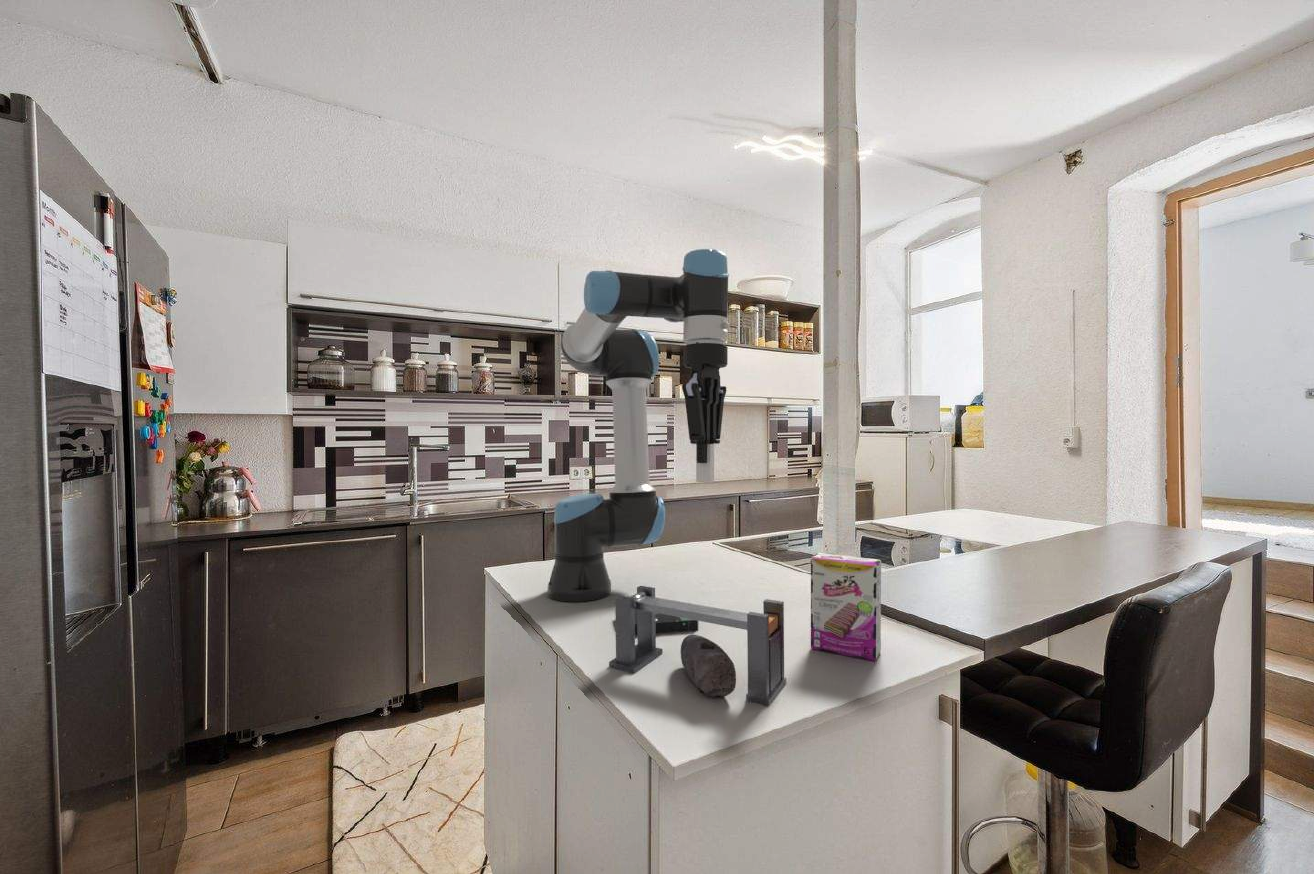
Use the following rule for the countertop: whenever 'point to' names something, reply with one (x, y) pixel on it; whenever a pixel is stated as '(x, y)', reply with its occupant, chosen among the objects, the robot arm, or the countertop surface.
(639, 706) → the countertop surface
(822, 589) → the candy bar box
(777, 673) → the catch block
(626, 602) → the bracket
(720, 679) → the perforated stone tool
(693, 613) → the grey long bar
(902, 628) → the countertop surface
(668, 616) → the disk drive
